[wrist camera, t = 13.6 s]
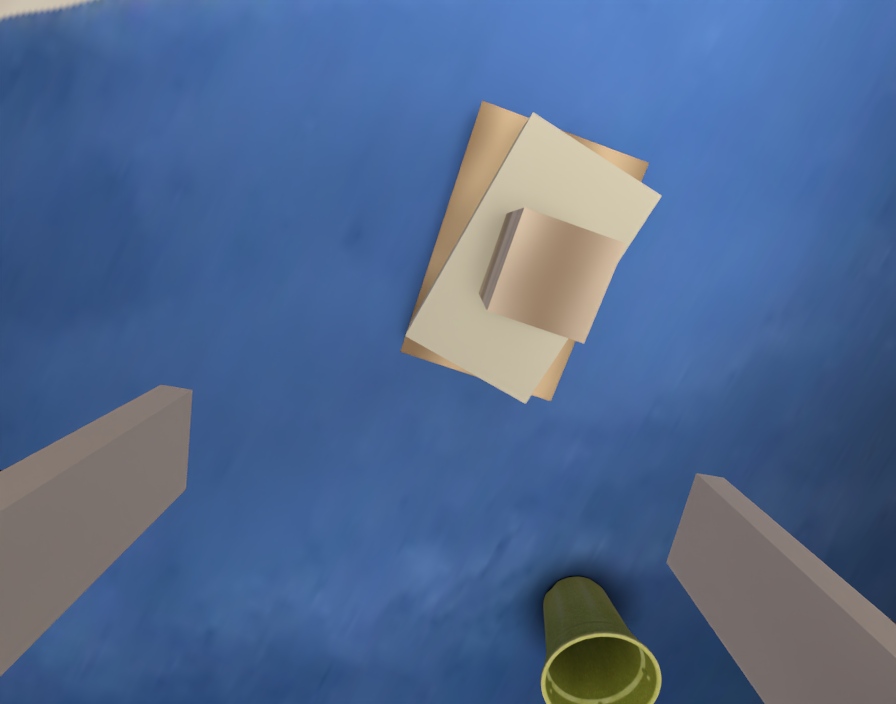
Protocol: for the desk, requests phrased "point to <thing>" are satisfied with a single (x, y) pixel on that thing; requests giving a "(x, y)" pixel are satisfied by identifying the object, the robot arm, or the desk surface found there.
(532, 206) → the middle block
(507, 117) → the bottom block
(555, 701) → the plant pot
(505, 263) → the ash block
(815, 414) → the desk surface
